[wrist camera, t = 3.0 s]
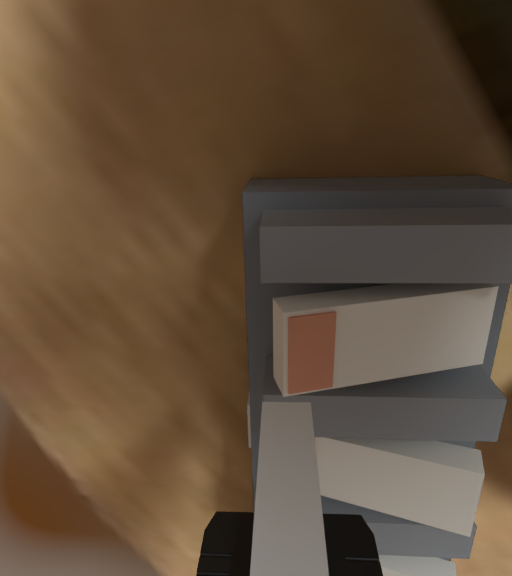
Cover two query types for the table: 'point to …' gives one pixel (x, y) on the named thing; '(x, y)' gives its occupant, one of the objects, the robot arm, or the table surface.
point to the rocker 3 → (416, 566)
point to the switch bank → (374, 272)
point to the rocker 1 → (378, 333)
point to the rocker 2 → (404, 478)
